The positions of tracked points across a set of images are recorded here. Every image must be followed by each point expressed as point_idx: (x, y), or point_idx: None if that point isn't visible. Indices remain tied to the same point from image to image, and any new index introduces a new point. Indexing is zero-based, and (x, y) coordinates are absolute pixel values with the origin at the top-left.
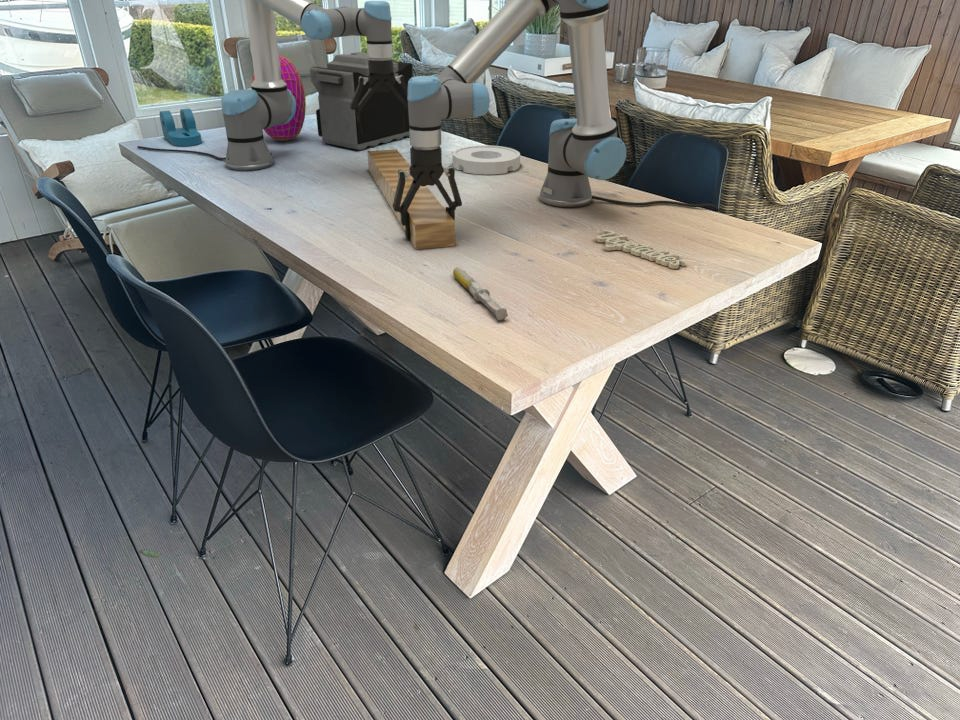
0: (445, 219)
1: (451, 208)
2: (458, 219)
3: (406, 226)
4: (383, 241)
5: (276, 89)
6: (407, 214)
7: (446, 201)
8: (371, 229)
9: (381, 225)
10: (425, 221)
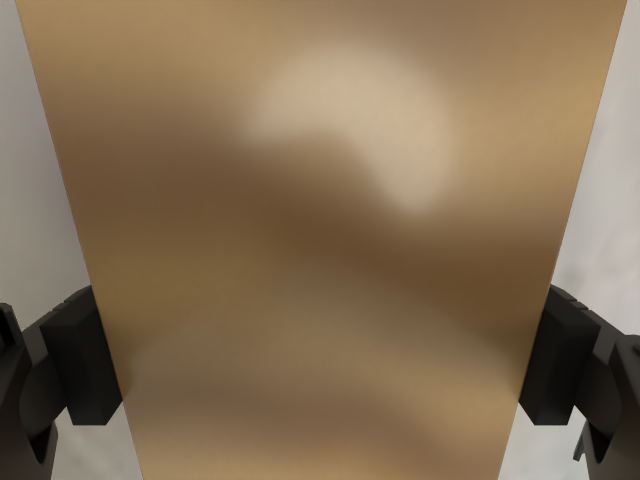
0: (141, 73)
1: (14, 339)
2: (111, 448)
3: None
4: (602, 253)
5: None
6: (585, 322)
7: (8, 449)
8: (577, 425)
9: (508, 458)
10: (438, 64)
